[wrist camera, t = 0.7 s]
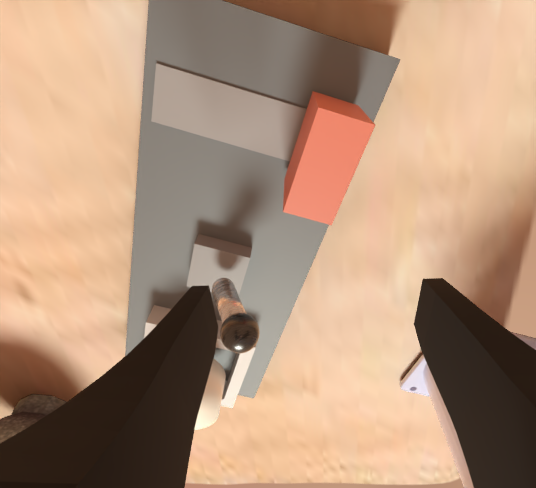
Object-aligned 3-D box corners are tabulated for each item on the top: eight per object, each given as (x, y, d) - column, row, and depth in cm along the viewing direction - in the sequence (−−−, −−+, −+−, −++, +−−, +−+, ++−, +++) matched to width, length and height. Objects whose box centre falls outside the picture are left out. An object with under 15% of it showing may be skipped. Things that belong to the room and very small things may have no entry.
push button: (231, 359, 21) (225, 396, 19) (218, 399, 23) (211, 435, 21) (162, 343, 21) (147, 379, 19) (155, 385, 23) (142, 421, 21)
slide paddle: (358, 105, 14) (375, 125, 11) (324, 190, 16) (331, 225, 13) (312, 91, 14) (318, 107, 11) (284, 179, 16) (282, 211, 13)
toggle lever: (240, 267, 18) (269, 332, 15) (232, 292, 19) (259, 358, 16) (207, 268, 17) (230, 338, 14) (201, 294, 18) (222, 364, 15)
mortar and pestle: (-23, 388, 31) (-173, 560, 21) (64, 376, 29) (-53, 557, 19) (48, 450, 37) (-42, 609, 27) (125, 443, 35) (59, 610, 25)
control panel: (388, 55, 15) (411, 62, 12) (256, 376, 28) (252, 417, 25) (167, -18, 14) (134, -30, 11) (134, 348, 27) (115, 388, 24)
